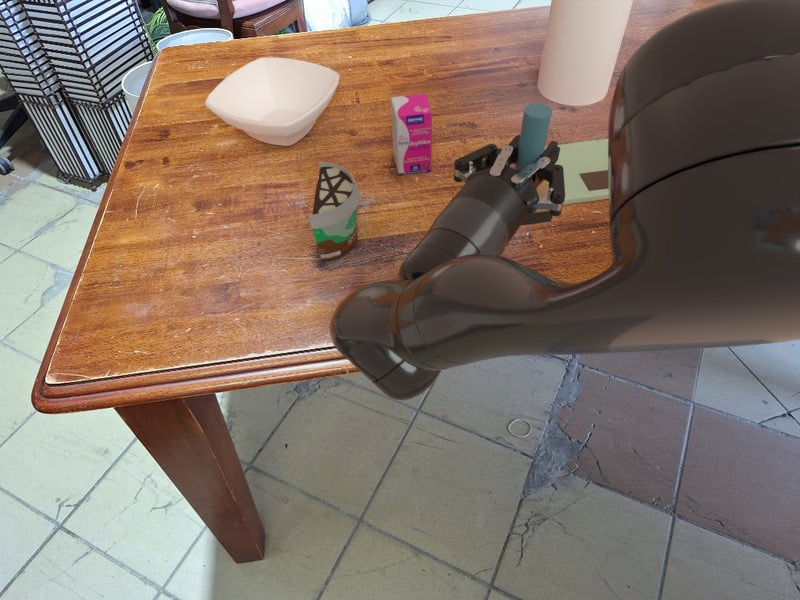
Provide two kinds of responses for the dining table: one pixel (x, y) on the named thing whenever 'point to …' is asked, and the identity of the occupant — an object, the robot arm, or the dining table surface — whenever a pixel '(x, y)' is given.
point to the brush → (534, 150)
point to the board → (584, 170)
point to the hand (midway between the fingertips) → (539, 143)
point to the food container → (335, 212)
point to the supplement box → (411, 133)
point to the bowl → (274, 98)
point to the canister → (581, 49)
